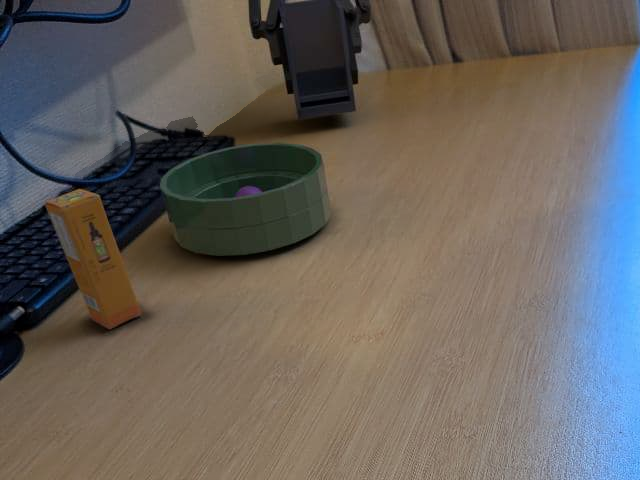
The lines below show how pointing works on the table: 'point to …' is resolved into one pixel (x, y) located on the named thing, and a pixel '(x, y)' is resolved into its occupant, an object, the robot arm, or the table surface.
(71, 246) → the supplement box
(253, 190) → the ball
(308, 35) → the dark grey open holder
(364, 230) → the table surface
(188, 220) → the bowl
